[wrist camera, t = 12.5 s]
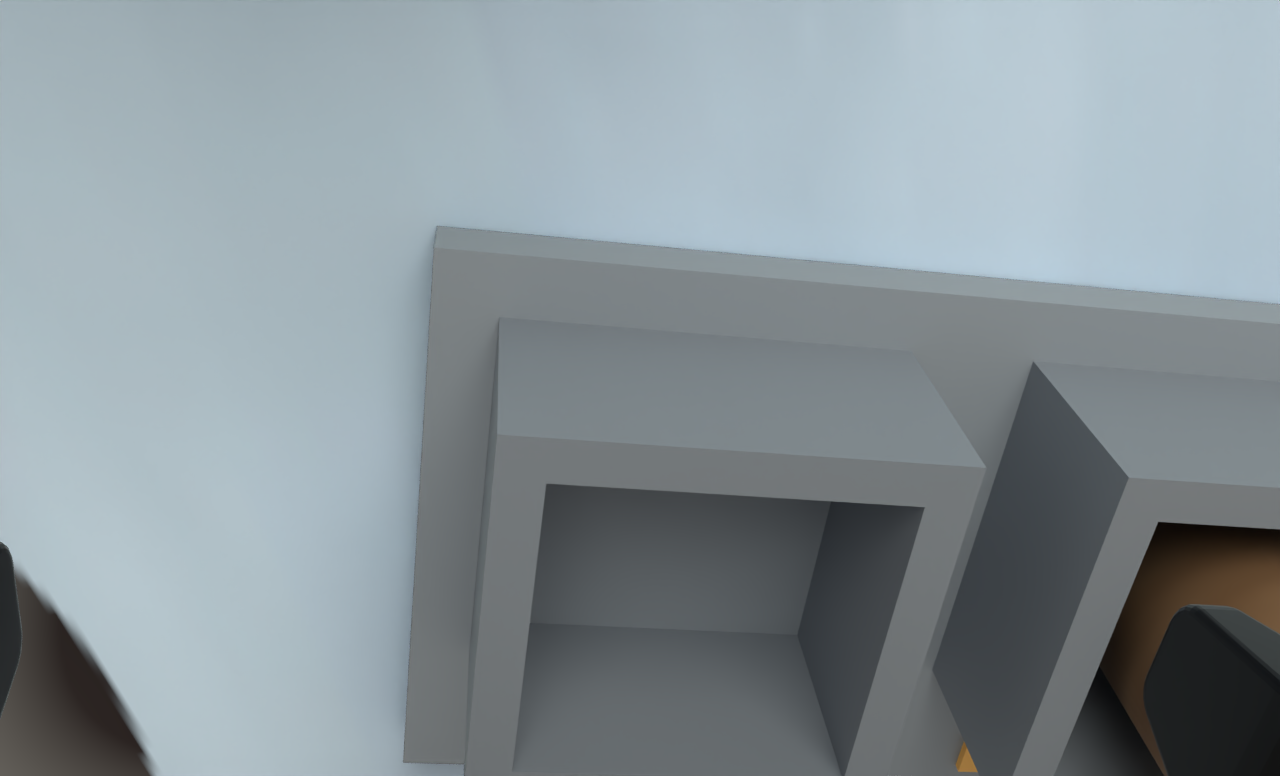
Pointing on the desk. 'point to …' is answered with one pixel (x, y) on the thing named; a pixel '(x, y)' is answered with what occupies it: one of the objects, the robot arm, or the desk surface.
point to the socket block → (804, 509)
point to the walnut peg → (1188, 598)
